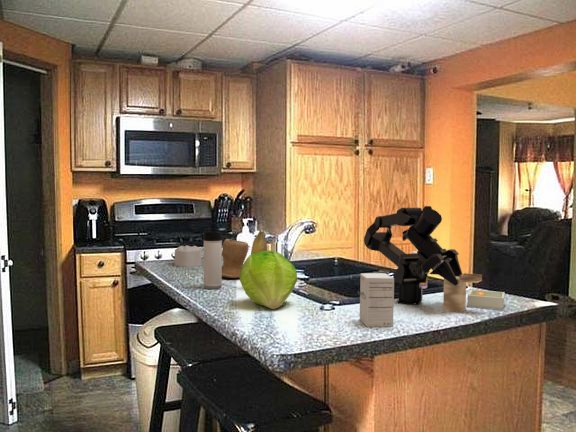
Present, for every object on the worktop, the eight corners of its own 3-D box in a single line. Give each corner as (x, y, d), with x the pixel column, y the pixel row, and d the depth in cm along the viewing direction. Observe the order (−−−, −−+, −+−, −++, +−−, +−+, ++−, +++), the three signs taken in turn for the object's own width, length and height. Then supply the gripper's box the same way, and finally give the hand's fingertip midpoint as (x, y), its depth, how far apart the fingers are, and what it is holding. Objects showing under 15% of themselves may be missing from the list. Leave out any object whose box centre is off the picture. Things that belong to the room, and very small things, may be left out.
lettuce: (233, 315, 150) (256, 276, 143) (230, 270, 167) (251, 232, 160) (286, 330, 157) (311, 293, 149) (278, 284, 173) (301, 249, 166)
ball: (474, 303, 161) (476, 295, 160) (473, 297, 164) (475, 289, 162) (485, 305, 161) (487, 297, 159) (484, 298, 163) (486, 290, 162)
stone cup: (254, 277, 206) (254, 239, 206) (230, 281, 198) (230, 241, 197) (230, 273, 217) (230, 236, 216) (206, 276, 209) (206, 238, 208)
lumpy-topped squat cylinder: (183, 267, 231) (183, 248, 230) (169, 264, 241) (169, 245, 240) (204, 265, 237) (204, 246, 237) (190, 262, 247) (190, 244, 247)
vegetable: (257, 291, 179) (257, 232, 178) (246, 288, 184) (246, 231, 183) (270, 288, 183) (271, 231, 182) (259, 286, 188) (259, 230, 187)
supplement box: (358, 319, 141) (359, 272, 140) (386, 319, 141) (387, 272, 141) (365, 327, 133) (366, 277, 133) (393, 326, 134) (394, 277, 133)
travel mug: (199, 288, 182) (199, 231, 181) (209, 285, 188) (209, 229, 187) (215, 290, 180) (215, 231, 179) (224, 287, 186) (225, 230, 185)
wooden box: (443, 310, 153) (443, 273, 152) (448, 307, 157) (449, 271, 156) (476, 314, 148) (477, 277, 147) (481, 311, 152) (481, 274, 151)
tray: (467, 306, 158) (467, 295, 158) (470, 300, 167) (470, 289, 167) (503, 310, 154) (503, 298, 154) (504, 303, 163) (504, 292, 163)
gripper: (416, 256, 169) (449, 294, 164) (393, 263, 154) (429, 305, 148) (441, 233, 164) (476, 272, 159) (420, 238, 149) (458, 280, 143)
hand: (460, 283), depth 152 cm, fingers open, 6 cm apart
